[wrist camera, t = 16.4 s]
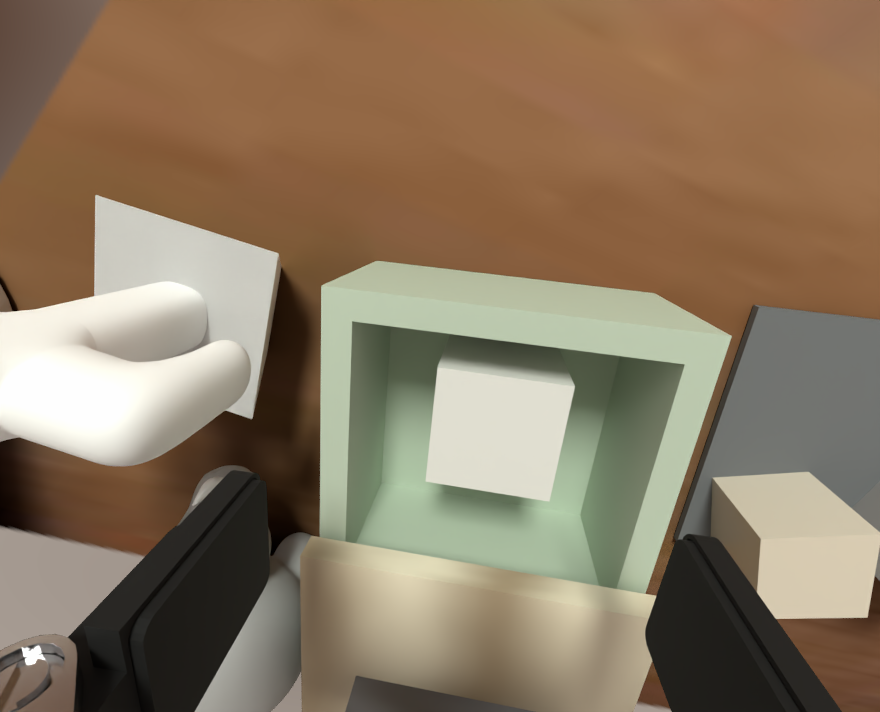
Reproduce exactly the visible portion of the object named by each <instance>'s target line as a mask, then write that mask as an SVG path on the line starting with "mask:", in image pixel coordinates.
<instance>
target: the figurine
mask: <svg viewBox="0 0 880 712" xmlns="http://www.w3.org/2000/svg"><path fill="white" fill-rule="evenodd" d="M280 273H281V263H280V258H279V254H278V253H275V252H272V251H269V250H266V249H263V248H260V247H256V246H253V245H250V244H247V243H244V242H241V241H238V240H235V239H231V238H228V237H225V236H222V235H219V234H216V233H213V232H210V231H206V230H203V229H200V228H197V227H194V226H191V225H188V224H185V223H181V222H178V221H175V220H172V219H169V218H166V217H163V216H160V215H157V214H153V213H150V212H147V211H144V210H141V209H138V208H135V207H132V206H128V205H125V204H122V203H119V202H116V201H113V200H110V199H107V198H103V197H100V196H97V195H95V285H94V297H89V298H85V299H80V300H76V301H71V302H67V303H62V304H58V305H53V306H49V307H44V308H40V309H35V310H25V311H13V312H0V442H1V441H5V440H9V439H13V438H18V437H20V438H23V439H26V440H29V441H32V442H35V443H38V444H41V445H44V446H47V447H50V448H53V449H56V450H59V451H62V452H65V453H68V454H71V455H74V456H77V457H80V458H83V459H86V460H89V461H92V462H95V463H99V464H103V465H108V466H132V465H137V464H141V463H144V462H147V461H150V460H152V459H155V458H157V457H159V456H161V455H162V454H164V453H166V452H168V451H169V450H171V449H172V448H174V447H176V446H177V445H179V444H180V443H182V442H183V441H185V440H186V439H187V438H189V437H190V436H192V435H193V434H194V433H196V432H197V431H198V430H200V429H201V428H202V427H204V426H205V425H206V424H208V423H209V422H210V421H212V420H213V419H214V418H216V417H217V416H218V415H220V414H221V413H222V412H224V411H229V412H232V413H235V414H238V415H241V416H244V417H247V418H250V419H252V418H253V414H254V409H255V405H256V401H257V396H258V392H259V387H260V383H261V379H262V374H263V370H264V365H265V361H266V357H267V352H268V346H269V340H270V334H271V328H272V322H273V316H274V309H275V303H276V297H277V291H278V285H279V279H280Z"/></svg>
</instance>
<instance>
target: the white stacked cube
mask: <svg viewBox="0 0 880 712" xmlns="http://www.w3.org/2000/svg"><path fill="white" fill-rule="evenodd" d="M574 389H575V385H574V383H573V381H572V378H571V376H570V374H569V371H568V369H567V367H566V364H565V362H564V360H563V357H562V355H561V353H560V350H559V348H554V347H546V346H539V345H531V344H523V343H516V342H508V341H500V340H492V339H485V338H477V337H469V336H462V335H454V334H450V335H449V338H448V341H447V343H446V346H445V349H444V351H443V354H442V357H441V359H440V362H439V365H438V368H437V377H436V386H435V396H434V405H433V415H432V424H431V434H430V443H429V453H428V462H427V471H426V481H425V482H432V483H438V484H444V485H450V486H456V487H462V488H468V489H475V490H481V491H487V492H493V493H499V494H505V495H512V496H518V497H524V498H530V499H536V500H542V501H550V497H551V492H552V488H553V483H554V479H555V474H556V470H557V465H558V461H559V456H560V452H561V447H562V443H563V438H564V434H565V429H566V425H567V420H568V416H569V411H570V407H571V402H572V398H573V393H574Z"/></svg>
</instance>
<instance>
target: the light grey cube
mask: <svg viewBox="0 0 880 712" xmlns="http://www.w3.org/2000/svg"><path fill="white" fill-rule="evenodd" d="M852 509H853V510H854V511H855V512H856V513H858V514H859V515H860V516H861V517H862V518H863V519H865V520H866V521H867V522H868V523H869V524H871V525H872V526H873V527H874V528H875V529H876V530H878V531H879V532H880V482H878V483H877V484H876V485H875V486H874V487H873V488H872V489H871V490H870V491H869V492H868V493H867V494H866V495H865V496H864V497H863V498H862V499H861V500H860V501H859V502H857V503H856V504H855V505H854V506H853V507H852ZM875 577H876V578H877V579H878V580H879V581H880V548H879V554H878V560H877V565H876V571H875Z"/></svg>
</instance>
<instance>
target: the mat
mask: <svg viewBox="0 0 880 712" xmlns="http://www.w3.org/2000/svg"><path fill="white" fill-rule="evenodd" d="M796 472H810V473H811V474H812V475H813V476H814V477H815V478H817V479H818V480H819V481H820V482H821V483H822V484H824V485H825V486H826V487H827V488H828V489H829V490H831V491H832V492H833V493H834V494H835V495H837V496H838V497H839V498H840V499H841V500H842V501H844V502H845V503H846V504H847V505H848V506H849V507H851V508H852V507H853V506H854V505H855V504H856V503H857V502H859V501H860V500H861V499H862V498H863V497H864V496H865V495H866V494H867V493H868V492H869V491H870V490H871V489H872V488H873V487H874V486H875V485H876V484H877V483H878V482H880V320H878V319H869V318H861V317H852V316H844V315H835V314H827V313H818V312H809V311H801V310H792V309H784V308H775V307H767V306H758V305H754V306H753V308H752V311H751V314H750V317H749V320H748V323H747V326H746V329H745V332H744V335H743V337H742V340H741V343H740V346H739V349H738V352H737V355H736V358H735V361H734V364H733V366H732V369H731V372H730V375H729V378H728V381H727V384H726V387H725V390H724V393H723V395H722V398H721V401H720V404H719V407H718V410H717V413H716V416H715V419H714V422H713V424H712V427H711V430H710V433H709V436H708V439H707V442H706V445H705V448H704V451H703V453H702V456H701V459H700V462H699V465H698V468H697V471H696V474H695V477H694V480H693V482H692V485H691V488H690V491H689V494H688V497H687V500H686V503H685V506H684V509H683V511H682V514H681V517H680V520H679V523H678V526H677V529H676V532H675V535H674V538H675V540H676V541H677V540H679V539H681V540H682V539H683V537H684V536H685V535H686V534H695V535H702V536H709V537H711V507H712V478H715V477H731V476H748V475H764V474H780V473H796Z"/></svg>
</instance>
